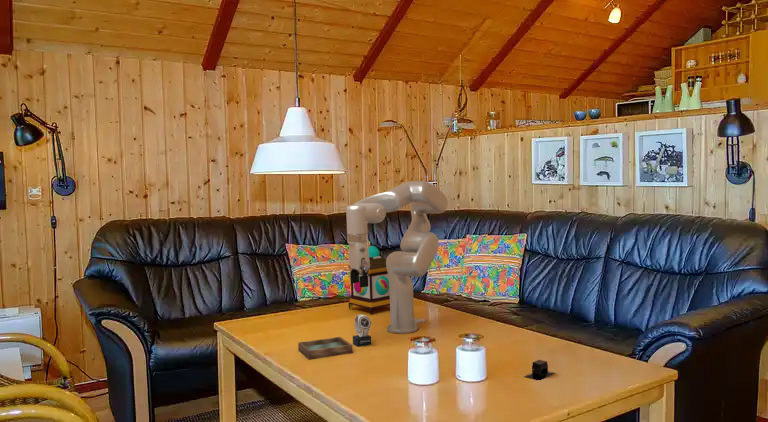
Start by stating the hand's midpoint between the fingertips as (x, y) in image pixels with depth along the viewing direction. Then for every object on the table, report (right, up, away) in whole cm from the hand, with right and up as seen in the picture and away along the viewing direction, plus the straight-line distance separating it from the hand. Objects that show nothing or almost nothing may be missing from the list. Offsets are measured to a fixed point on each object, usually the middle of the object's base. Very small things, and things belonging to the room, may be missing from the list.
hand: (359, 284), depth 221 cm
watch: (+1, -22, +1) cm, 22 cm away
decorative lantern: (+4, -19, +61) cm, 64 cm away
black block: (+56, -23, -39) cm, 72 cm away
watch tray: (-12, -23, -7) cm, 27 cm away
